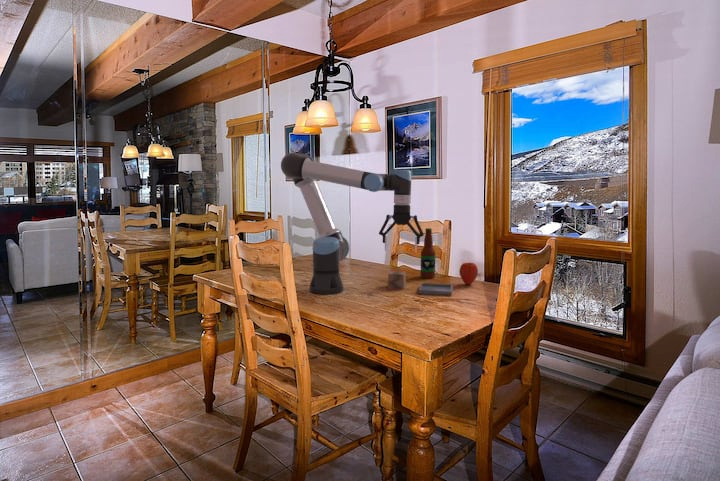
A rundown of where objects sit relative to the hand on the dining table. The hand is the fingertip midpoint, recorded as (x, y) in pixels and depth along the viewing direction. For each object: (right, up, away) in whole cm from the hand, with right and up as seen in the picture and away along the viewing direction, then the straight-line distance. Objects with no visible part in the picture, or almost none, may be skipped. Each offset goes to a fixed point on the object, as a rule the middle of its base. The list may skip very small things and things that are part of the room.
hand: (400, 250), depth 210 cm
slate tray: (+15, -18, -4) cm, 24 cm away
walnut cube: (-2, -17, +3) cm, 17 cm away
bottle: (+16, -14, +24) cm, 32 cm away
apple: (+33, -16, +8) cm, 37 cm away
